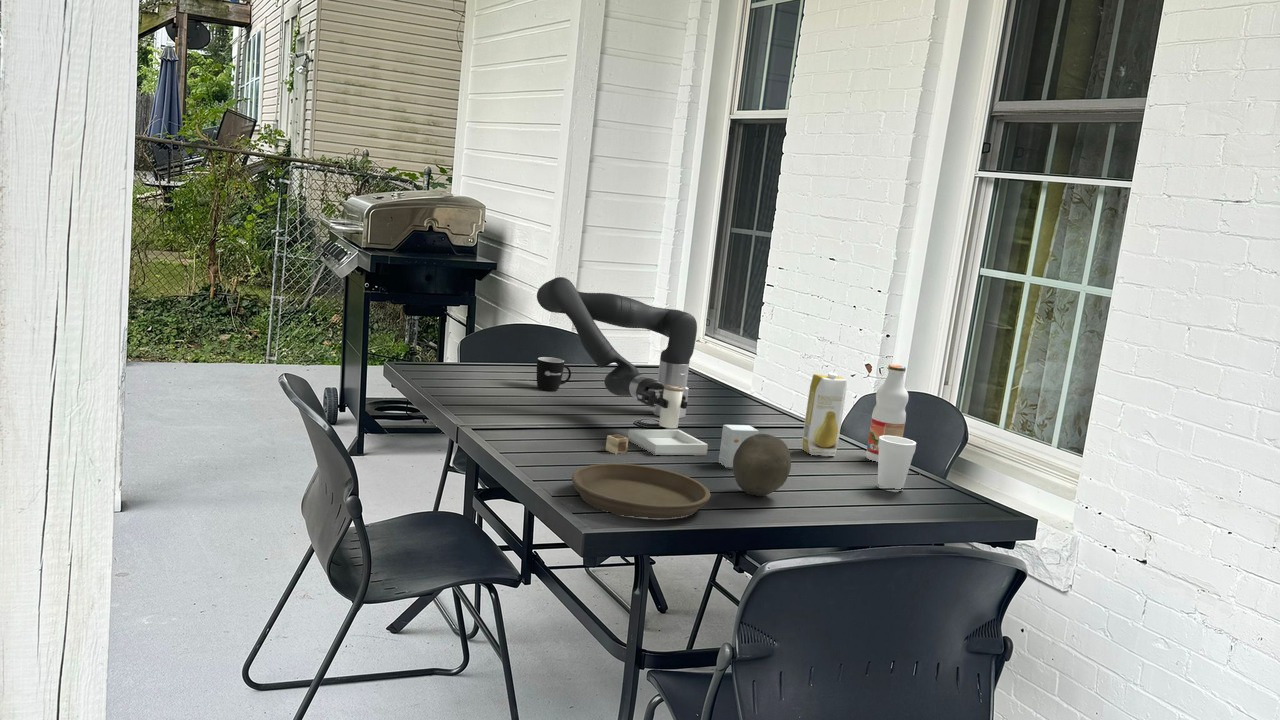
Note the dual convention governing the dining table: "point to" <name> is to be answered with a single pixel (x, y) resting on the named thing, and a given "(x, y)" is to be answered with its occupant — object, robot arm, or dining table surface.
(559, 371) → the mug
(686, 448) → the tray
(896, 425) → the fruit juice
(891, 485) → the foam cup
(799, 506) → the dining table surface
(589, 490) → the plant saucer
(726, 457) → the small box
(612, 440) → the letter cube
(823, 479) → the dining table surface
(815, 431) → the juice carton
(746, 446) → the cantaloupe
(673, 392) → the canister
